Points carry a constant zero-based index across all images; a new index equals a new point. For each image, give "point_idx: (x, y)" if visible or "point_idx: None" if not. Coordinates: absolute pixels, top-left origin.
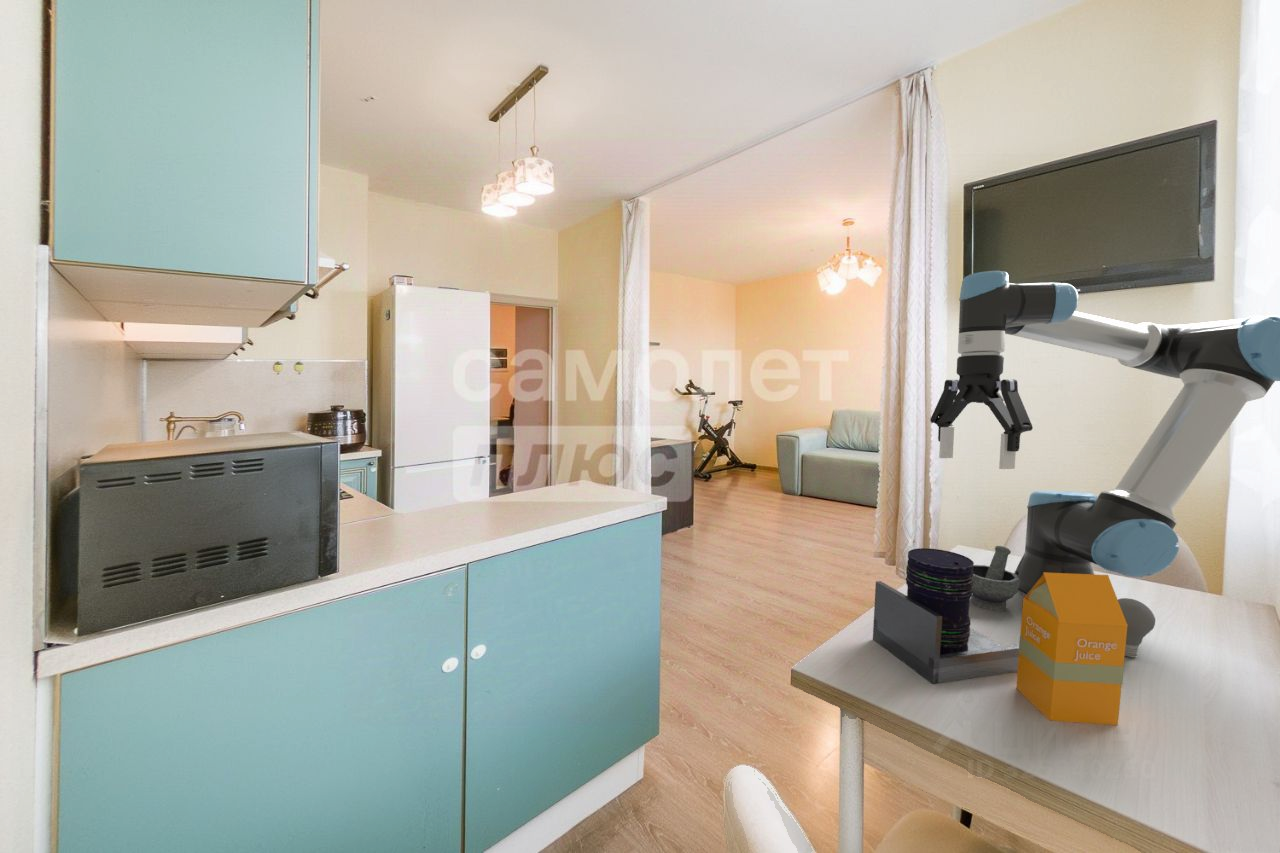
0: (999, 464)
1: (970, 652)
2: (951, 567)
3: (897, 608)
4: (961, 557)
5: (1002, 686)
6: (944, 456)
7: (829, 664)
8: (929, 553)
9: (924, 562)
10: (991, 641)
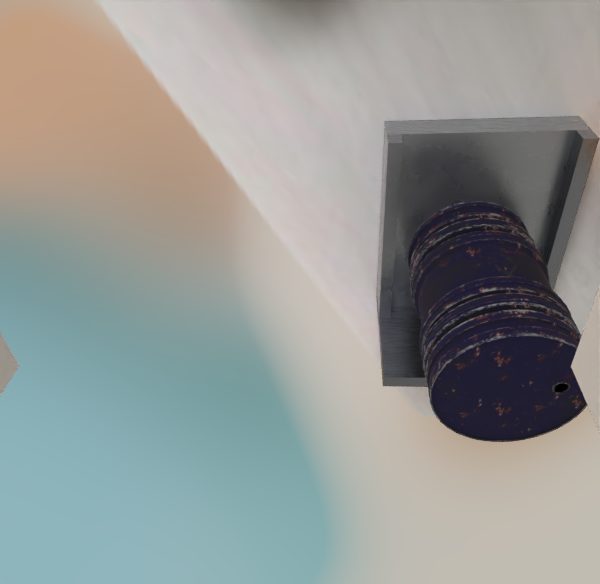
0: (583, 393)
1: (555, 255)
2: (570, 408)
3: None
4: (530, 342)
5: (592, 197)
6: (2, 361)
7: (424, 388)
8: (468, 388)
9: (515, 433)
10: (515, 137)
